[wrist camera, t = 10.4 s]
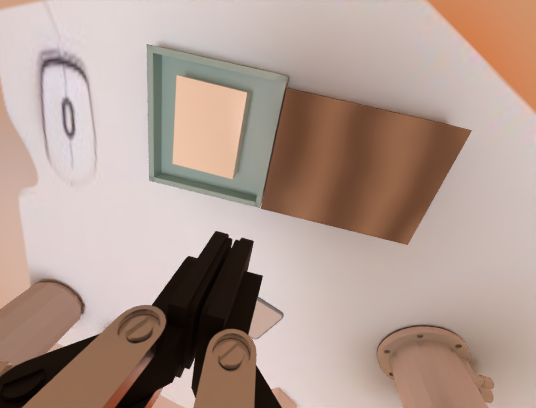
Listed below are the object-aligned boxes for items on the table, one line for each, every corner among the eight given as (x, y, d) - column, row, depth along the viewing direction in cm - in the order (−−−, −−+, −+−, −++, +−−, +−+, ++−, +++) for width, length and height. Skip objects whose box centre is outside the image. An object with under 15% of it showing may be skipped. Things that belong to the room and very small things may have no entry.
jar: (94, 300, 44) (-31, 425, 27) (76, 325, 48) (-42, 447, 31) (43, 268, 42) (-122, 382, 26) (29, 297, 46) (-122, 411, 30)
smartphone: (255, 341, 42) (179, 296, 39) (256, 336, 42) (181, 292, 40) (285, 316, 38) (203, 265, 36) (286, 311, 39) (206, 261, 36)
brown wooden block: (447, 124, 24) (471, 130, 21) (395, 225, 30) (407, 244, 26) (289, 88, 25) (286, 88, 21) (266, 194, 30) (260, 208, 27)
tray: (288, 76, 24) (287, 75, 23) (262, 200, 31) (259, 207, 29) (158, 47, 25) (146, 44, 23) (158, 175, 31) (149, 180, 29)
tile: (176, 75, 24) (185, 76, 25) (172, 163, 27) (180, 159, 29) (246, 92, 23) (251, 92, 25) (232, 179, 27) (237, 173, 29)
